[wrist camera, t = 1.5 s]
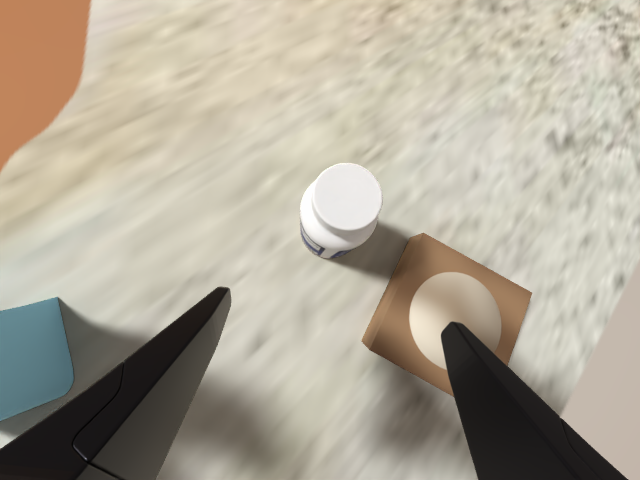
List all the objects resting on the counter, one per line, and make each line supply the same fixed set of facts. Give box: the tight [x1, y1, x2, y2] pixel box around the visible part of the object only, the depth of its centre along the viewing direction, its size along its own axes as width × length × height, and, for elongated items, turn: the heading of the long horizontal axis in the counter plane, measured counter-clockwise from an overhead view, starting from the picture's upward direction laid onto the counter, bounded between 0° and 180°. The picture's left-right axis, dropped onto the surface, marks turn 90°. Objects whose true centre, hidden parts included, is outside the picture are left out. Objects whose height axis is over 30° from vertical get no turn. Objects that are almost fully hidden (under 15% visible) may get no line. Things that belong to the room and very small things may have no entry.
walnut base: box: [362, 233, 532, 397], centre depth 20 cm, size 11×11×3 cm
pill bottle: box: [300, 163, 383, 258], centre depth 17 cm, size 5×5×10 cm
